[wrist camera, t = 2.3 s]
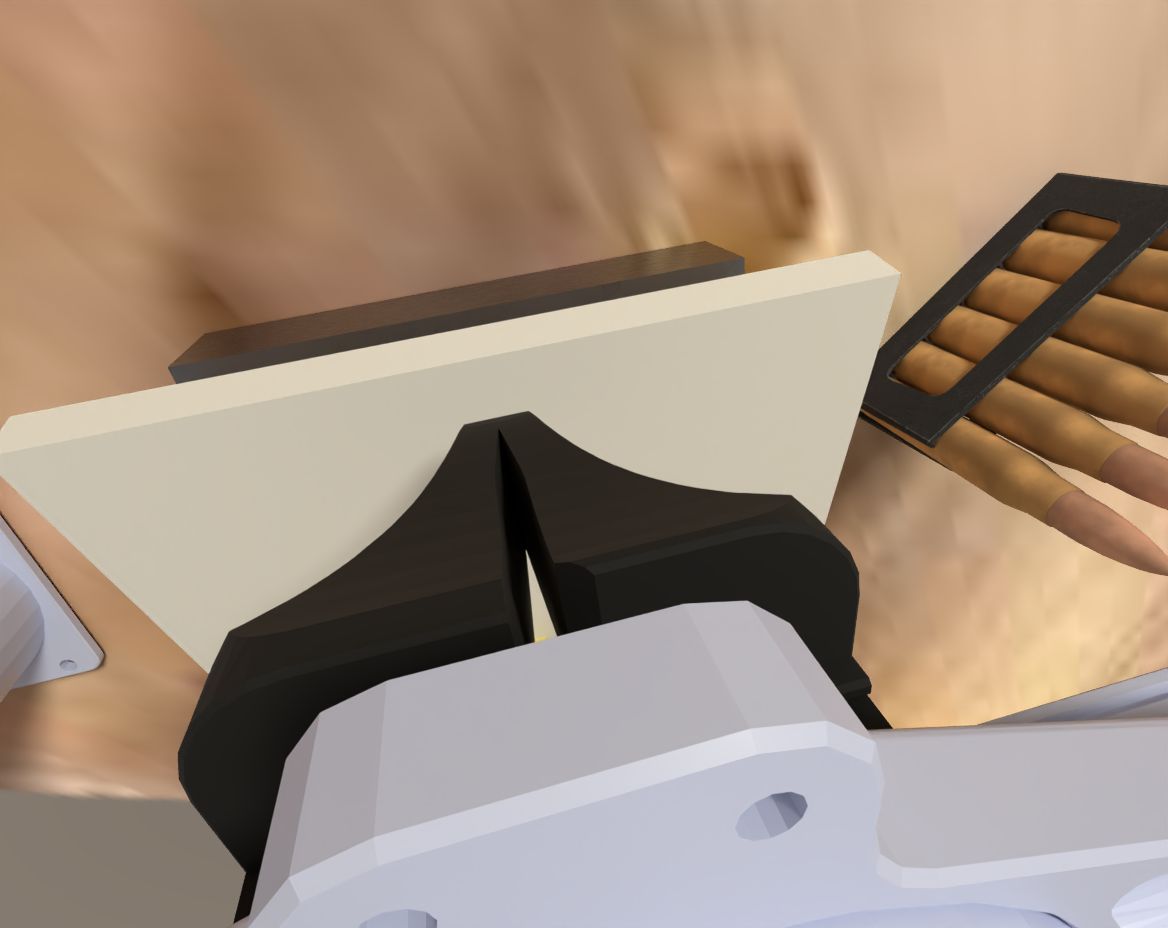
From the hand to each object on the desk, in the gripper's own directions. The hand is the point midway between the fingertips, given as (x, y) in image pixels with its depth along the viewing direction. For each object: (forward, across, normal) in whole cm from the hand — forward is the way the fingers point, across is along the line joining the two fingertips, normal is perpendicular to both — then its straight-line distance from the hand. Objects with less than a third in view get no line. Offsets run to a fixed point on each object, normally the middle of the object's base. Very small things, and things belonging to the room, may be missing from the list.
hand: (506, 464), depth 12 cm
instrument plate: (+4, 0, +6) cm, 7 cm away
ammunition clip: (+10, -18, +3) cm, 21 cm away
